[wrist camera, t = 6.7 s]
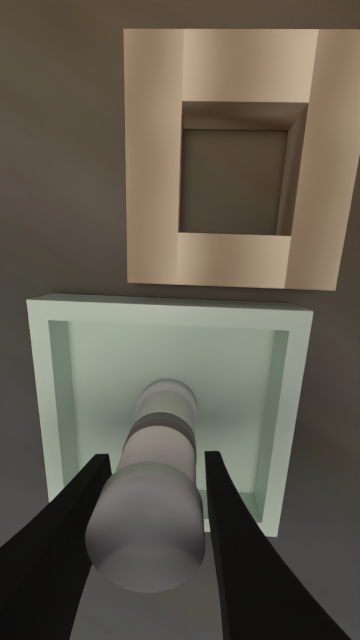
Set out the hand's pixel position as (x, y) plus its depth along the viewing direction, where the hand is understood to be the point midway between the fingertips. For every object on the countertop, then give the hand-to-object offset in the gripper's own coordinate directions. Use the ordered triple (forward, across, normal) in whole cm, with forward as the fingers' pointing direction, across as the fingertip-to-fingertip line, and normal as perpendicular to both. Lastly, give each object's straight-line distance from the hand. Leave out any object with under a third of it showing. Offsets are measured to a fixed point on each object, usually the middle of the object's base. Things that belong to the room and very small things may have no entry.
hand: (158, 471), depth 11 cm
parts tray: (+5, 0, 0) cm, 5 cm away
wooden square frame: (+5, -4, -13) cm, 14 cm away
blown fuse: (+4, 0, 0) cm, 5 cm away
